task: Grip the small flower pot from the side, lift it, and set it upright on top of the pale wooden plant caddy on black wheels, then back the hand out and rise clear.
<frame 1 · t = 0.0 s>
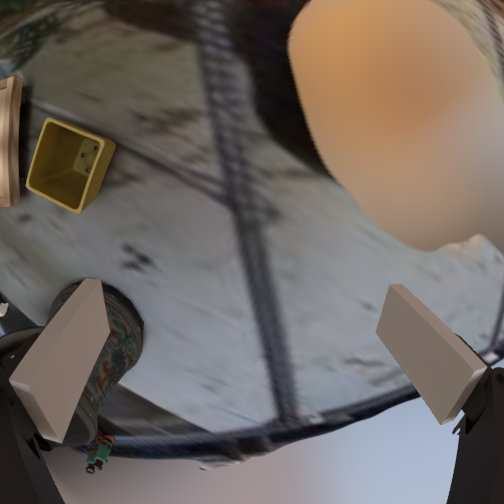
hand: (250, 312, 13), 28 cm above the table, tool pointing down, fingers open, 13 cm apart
beer stein: (92, 322, 44), on the table
flower pot: (92, 159, 35), on the table
binoculars: (95, 432, 54), on the table
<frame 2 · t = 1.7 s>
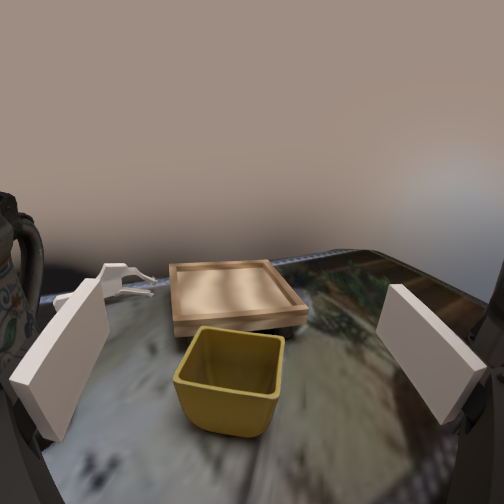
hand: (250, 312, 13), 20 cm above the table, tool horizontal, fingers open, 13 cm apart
plant caddy: (228, 317, 48), on the table
beer stein: (20, 398, 24), on the table
flower pot: (231, 418, 29), on the table
llama figurine: (107, 306, 48), on the table
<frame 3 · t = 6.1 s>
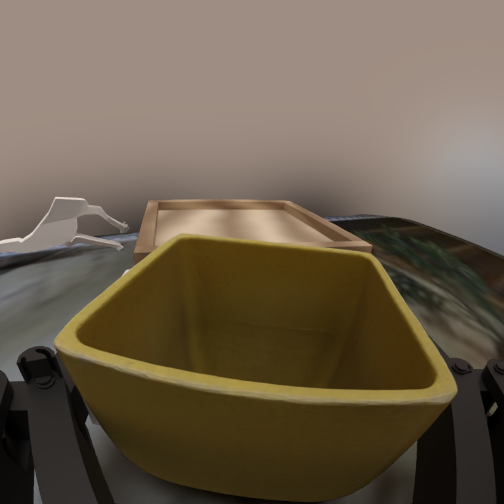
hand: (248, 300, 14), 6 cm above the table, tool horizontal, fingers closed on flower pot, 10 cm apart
plant caddy: (235, 274, 31), on the table
flower pot: (248, 452, 12), on the table, touching gripper
llama figurine: (57, 262, 31), on the table
when the fingers open (12 cm above the table, at t = 10.9 s): flower pot drops 1 cm, resting on plant caddy.
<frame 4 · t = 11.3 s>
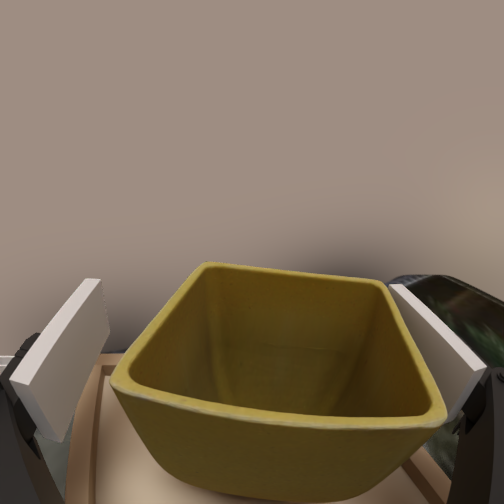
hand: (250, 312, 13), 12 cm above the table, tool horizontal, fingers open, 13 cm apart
plant caddy: (242, 498, 14), on the table
flower pot: (265, 459, 13), point 5 cm above the table, touching plant caddy
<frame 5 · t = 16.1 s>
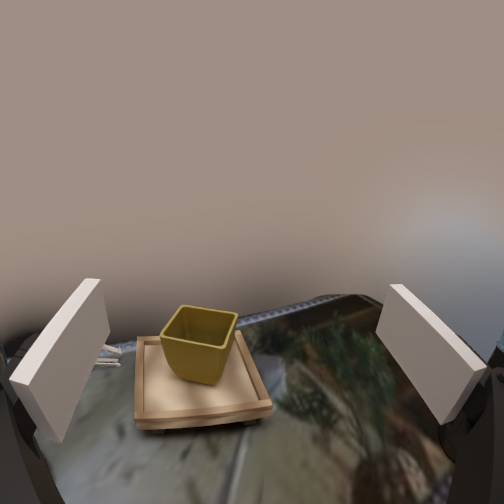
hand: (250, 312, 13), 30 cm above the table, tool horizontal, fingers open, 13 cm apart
plant caddy: (196, 395, 43), on the table
flower pot: (202, 373, 42), point 5 cm above the table, touching plant caddy
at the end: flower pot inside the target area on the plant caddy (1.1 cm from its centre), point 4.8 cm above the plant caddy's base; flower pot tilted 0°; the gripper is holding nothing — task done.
